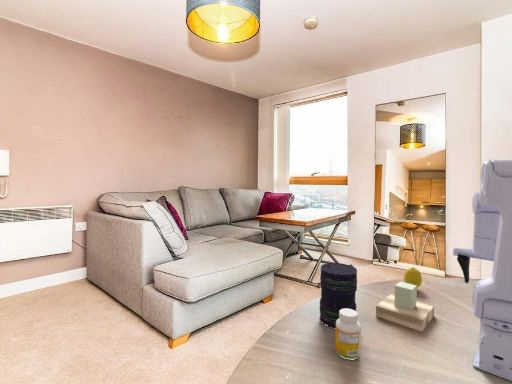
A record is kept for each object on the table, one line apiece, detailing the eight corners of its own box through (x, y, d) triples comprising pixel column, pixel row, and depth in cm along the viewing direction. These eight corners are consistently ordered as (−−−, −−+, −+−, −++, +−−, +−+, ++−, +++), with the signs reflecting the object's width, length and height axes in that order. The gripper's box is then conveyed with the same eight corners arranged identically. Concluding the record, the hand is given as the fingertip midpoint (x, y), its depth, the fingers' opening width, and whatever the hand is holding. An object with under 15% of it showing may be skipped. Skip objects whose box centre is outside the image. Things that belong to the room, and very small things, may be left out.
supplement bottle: (340, 344, 68) (341, 304, 68) (363, 352, 65) (364, 311, 64) (331, 354, 64) (332, 312, 64) (354, 364, 61) (356, 320, 60)
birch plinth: (422, 331, 74) (422, 320, 74) (375, 315, 82) (376, 305, 82) (433, 316, 82) (434, 305, 82) (390, 302, 91) (391, 293, 91)
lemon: (403, 290, 101) (404, 268, 101) (403, 285, 106) (404, 264, 106) (421, 293, 99) (422, 270, 98) (421, 288, 103) (421, 266, 103)
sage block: (411, 310, 79) (412, 289, 79) (394, 305, 82) (395, 285, 82) (416, 305, 82) (416, 285, 82) (399, 301, 85) (400, 281, 85)
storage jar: (360, 318, 81) (361, 266, 80) (350, 334, 72) (352, 277, 72) (326, 309, 86) (327, 260, 85) (313, 323, 78) (314, 269, 77)
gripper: (523, 239, 76) (520, 289, 76) (457, 231, 86) (455, 275, 86) (522, 243, 71) (519, 296, 71) (452, 234, 81) (450, 281, 81)
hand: (484, 285), depth 78 cm, fingers open, 7 cm apart
